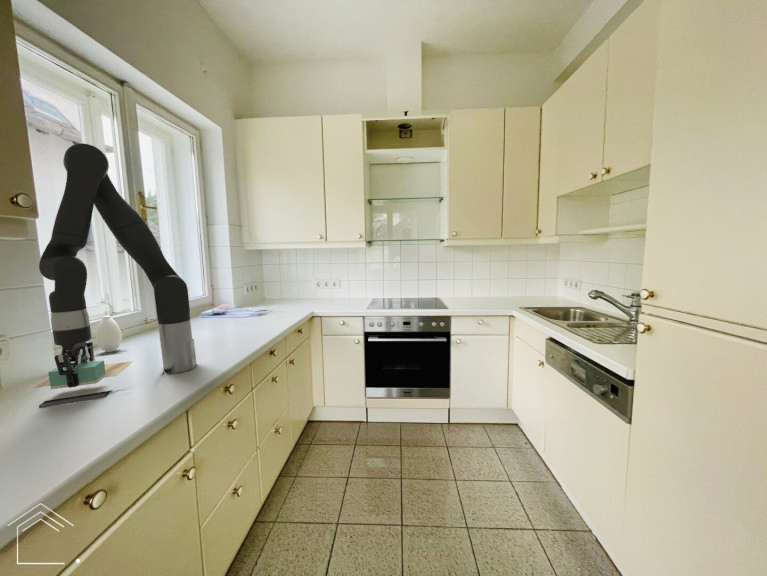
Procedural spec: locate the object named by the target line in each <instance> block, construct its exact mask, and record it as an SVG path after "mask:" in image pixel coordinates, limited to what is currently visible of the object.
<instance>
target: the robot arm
mask: <svg viewBox="0 0 767 576" xmlns="http://www.w3.org/2000/svg"><path fill="white" fill-rule="evenodd" d="M63 155H64V157H63V162H62V163H63V166H64V169H65V170H66V181H65V186H64V192H63V194H62V198H61V201H60V203H59V206H58V210H57V213H56V216H55V220H54V223H53V224H54V225H53V227H52V228H53V229H52V231H51V232H52V233H51V237H50V240H49V242H48V244H47V245H46V247H45V249H44V250H43V252H42V254H41V256H40V259H39V264H38V269H39V272H40V274H41V276H43V277H44V278H46V279H47V280H50V281H53V282H54V290H53V291H51V292H50V293H49V296H48V300H49V308H50V309H49V310H50V312H51V313H50V323H51V330H52V336H53V343H54V345H55V346H60V347H61V354H58V355H55V356H54V362H55V364H56V368H58V372H59V375H60V376H61V375H66V379H67V385H68V387H67V388H69V389H70V388H77V387H79V386H78V385H79V380H78V373H77V371H78V370H77V369H78V366H79V365H80V363H87V362H91V361H92V362H94V361H93V351H94V343H93V341H91V340H92V330H91V322H90V315H89V314H88V309H87V302H86V296H85V292H86V287H87V280H88V270H87V267H86V264H85V263H84V261H83V260H82V259H80V258H79V257H77V256H78V252H80V251H81V250H82V249H84V248H86V246H87V243H88V238H89V236H90V235H89V234H90V230H91V225H92V218H93V213H94V211H93V210H94V207H95V208H96V210H97V211H98V213H99V215H100V216H101V218H102V219H103V221H104V223H105V225H106V226H107V227H108V229H109V231H110V232H111V233H112V235H113V236H114V238H115V239H116V241H117V242H118V243H119V244H120V246H121V248H123V249H124V251H126V253H127V254H128V255H129V256H130V257H131V259H132V260H134V262H136V263H137V265H138V266H139V267H140V268H141V270H142V271H143V272H144V273H145V275H146V277H147V279H148V280H149V282H150V284H151V286H152V287H153V295H154V301H155V310H156V317H157V325H158V327H157V328H158V334H159V340H160V341H159V343H160V351H161V358H162V360H161V361H162V368H163V372H164V374H170V375H172V374H179V373H183V372H187V371H189V370H190V371H191V370H194V369H195V368H196V365H197V356H196V355H197V354H196V348H195V347H196V346H195V339H194V338H193V335H192V334H193V333H192V323H191V310H190V300H189V298H190V297H189V290H188V285H187V283H186V281H184V279H182V277H180V276H179V275H178V273H177V272H176V271H175V269H173V267H172V266H171V265H170V264H169V261H167V259H166V258H165V256H164V253H163V251H162V249H161V247H160V245H159V242H158V240H157V239H156V237H155V235H154V234H153V232H152V230H151V229H150V227H149V226H148V224H147V222H146V221H145V220H144V218H143V217H142V216H141V215H140V213H139V212H138V211H137V210H136V209H135V208H134V207H133V206H131V204H130V203H128V202H127V200H125V198H123V196H122V195H120V193H119V192H118V189H116V187H115V184H113V181H112V180H111V178H110V176H109V174H108V172H109V170H110V169H109V168H110V164H109V160H108V158H107V156H106V153H104V152H103V151H102V150H100V149H99V148H98V147H97V146H94V145H91V144H89V143H84V142H83V143H82V142H81V143H75V144H73V145H70V146H69V147H68V148H67V149H66V150H65V152H64V154H63ZM86 341H90V342H86ZM72 366H73V368H72ZM63 368H64V370H63Z"/></svg>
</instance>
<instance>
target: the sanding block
mask: <svg viewBox="0 0 767 576" xmlns="http://www.w3.org/2000/svg"><path fill="white" fill-rule="evenodd" d="M105 365H106V364H105V360H98V361H97V360H96V361H95V360H94V361H92V362H87V363H80V365H79V366H78V369H77V370H78V371H77V373H78V380H79V385H78V386H77V387H79V386H87V385H96V384H98V383H99V382H101V381H102V380H103V379H104V378H107V377H106V372H105ZM72 368H73V366H72ZM63 370H64V368H63ZM47 373H48V378H49V380H50V385H49V386H50V390H57V389H63V388H69V387H68V385H67V379H66V375H61V376H60V375H59V372H58V368H57V367H55V368H53V369H51V370H49V371H48V372H47Z"/></svg>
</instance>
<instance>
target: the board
mask: <svg viewBox="0 0 767 576" xmlns="http://www.w3.org/2000/svg"><path fill="white" fill-rule="evenodd" d="M133 362H134V361H133V360H131V361H126V362H117V363H109V364H105V372H106V377H105V378H110V377H117V376H118V375H119V374H121V373H122V372H123V371H124V370H125V369H127V368H128V367H129V365H131V364H132V363H133ZM47 386H50V380H49V377H48V378H47V379H44V380H43V381H42V382H39V383H38V384H37V385H35V386H33V388H40V387H47Z"/></svg>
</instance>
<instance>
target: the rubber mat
mask: <svg viewBox="0 0 767 576" xmlns="http://www.w3.org/2000/svg"><path fill="white" fill-rule="evenodd" d="M113 391H114V390H104V391H100V392H93V393H92V392H91V393H88V394H86V393H85V394H82V395H81V394H79V395H74V396H73V395H72V396H68V397H61V398H54V399H47V400H45V401H43V402H42V403H40V404H39V405H38V409H44V408H49V407H55V406H63V405H67V404H68V403H69V404H73V403H74V402H75V403H80V402H86V401H93V400H99V399H104V398H107V397H108V395H110V394H111V393H112V392H113ZM110 392H111V393H110ZM62 404H63V405H62Z"/></svg>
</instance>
